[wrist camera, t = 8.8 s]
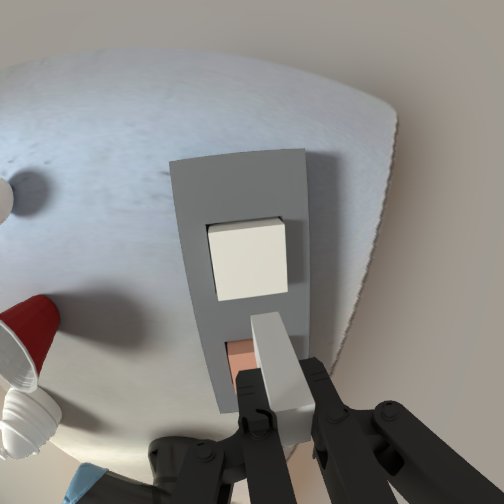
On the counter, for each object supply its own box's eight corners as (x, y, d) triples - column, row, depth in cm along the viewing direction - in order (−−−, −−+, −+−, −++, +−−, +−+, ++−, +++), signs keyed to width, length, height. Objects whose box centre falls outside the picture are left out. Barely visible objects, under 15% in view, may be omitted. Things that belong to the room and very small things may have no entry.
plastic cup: (46, 264, 28) (-7, 308, 17) (87, 330, 32) (53, 388, 21) (9, 290, 29) (-35, 330, 17) (46, 346, 32) (13, 395, 21)
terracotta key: (282, 364, 33) (289, 386, 29) (233, 371, 33) (235, 394, 29) (281, 325, 31) (289, 346, 27) (226, 333, 31) (227, 355, 27)
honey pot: (22, 405, 37) (-4, 458, 20) (8, 369, 33) (-29, 427, 16) (66, 427, 40) (45, 488, 23) (56, 394, 36) (25, 464, 19)
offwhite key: (279, 274, 29) (287, 291, 25) (218, 282, 28) (218, 301, 25) (275, 214, 27) (284, 224, 23) (209, 222, 26) (208, 233, 22)
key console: (297, 377, 38) (305, 400, 34) (219, 388, 37) (220, 413, 33) (291, 149, 28) (304, 148, 23) (177, 161, 27) (168, 161, 22)
